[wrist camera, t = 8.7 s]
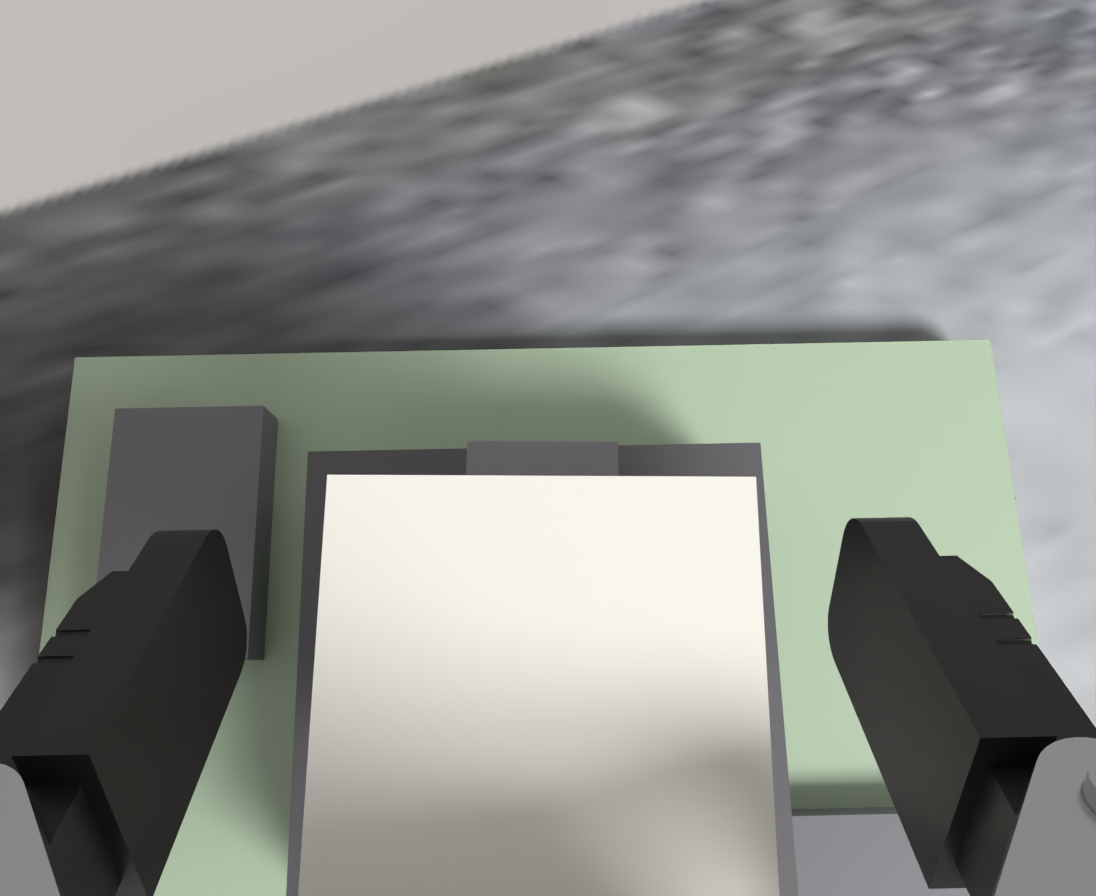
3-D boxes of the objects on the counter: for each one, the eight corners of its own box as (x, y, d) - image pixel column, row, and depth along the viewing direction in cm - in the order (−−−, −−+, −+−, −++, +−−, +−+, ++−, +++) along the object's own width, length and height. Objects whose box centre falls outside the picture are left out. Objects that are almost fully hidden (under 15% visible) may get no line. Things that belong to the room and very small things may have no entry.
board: (24, 1069, 17) (-145, 1197, 13) (102, 375, 20) (-11, 300, 16) (1066, 1044, 17) (1232, 1162, 13) (964, 358, 20) (1069, 280, 16)
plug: (439, 791, 17) (295, 951, 7) (447, 552, 18) (331, 412, 8) (647, 792, 17) (782, 953, 7) (641, 553, 18) (752, 415, 8)
